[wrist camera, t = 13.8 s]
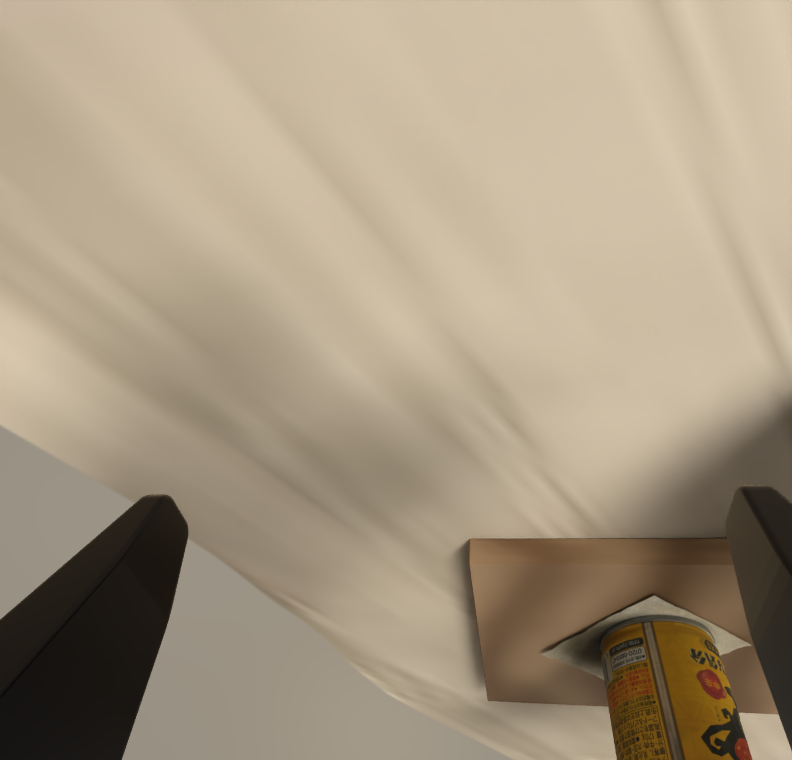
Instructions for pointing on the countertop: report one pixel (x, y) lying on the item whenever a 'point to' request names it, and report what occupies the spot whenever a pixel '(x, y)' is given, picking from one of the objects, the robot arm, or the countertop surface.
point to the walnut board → (597, 609)
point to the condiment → (663, 682)
